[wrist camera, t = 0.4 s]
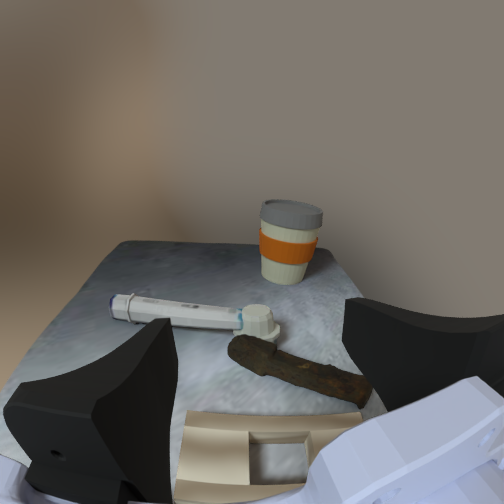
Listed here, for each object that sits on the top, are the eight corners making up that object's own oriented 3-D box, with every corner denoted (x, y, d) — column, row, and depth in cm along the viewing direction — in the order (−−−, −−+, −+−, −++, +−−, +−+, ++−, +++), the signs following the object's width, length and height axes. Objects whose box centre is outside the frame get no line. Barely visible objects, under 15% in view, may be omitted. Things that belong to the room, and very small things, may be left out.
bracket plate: (373, 496, 17) (385, 487, 16) (176, 505, 16) (173, 498, 15) (352, 424, 27) (360, 411, 26) (188, 423, 25) (187, 410, 25)
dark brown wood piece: (367, 392, 31) (380, 367, 30) (361, 414, 28) (376, 389, 26) (237, 346, 39) (240, 320, 37) (222, 362, 36) (224, 335, 34)
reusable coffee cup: (245, 280, 57) (253, 206, 52) (262, 258, 69) (269, 196, 63) (306, 294, 54) (321, 219, 49) (314, 270, 66) (326, 206, 60)
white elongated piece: (120, 286, 42) (280, 294, 39) (129, 321, 44) (280, 333, 42) (103, 303, 37) (279, 315, 34) (115, 339, 40) (278, 356, 37)
